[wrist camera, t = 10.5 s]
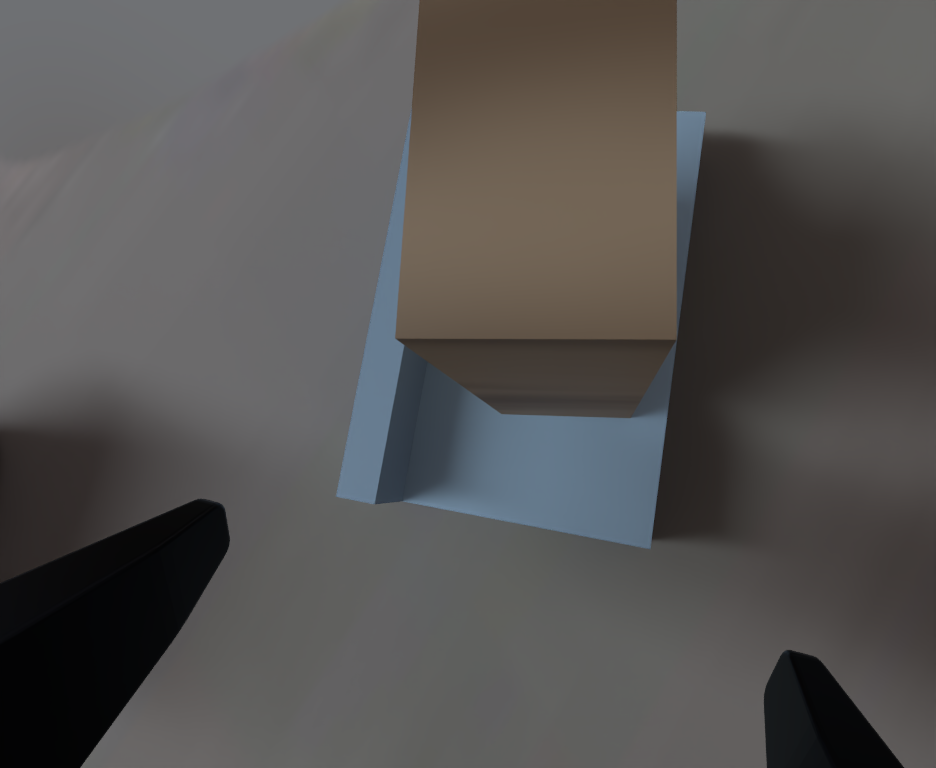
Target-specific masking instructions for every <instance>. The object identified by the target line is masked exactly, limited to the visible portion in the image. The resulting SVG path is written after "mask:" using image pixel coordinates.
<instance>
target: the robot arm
mask: <svg viewBox="0 0 936 768" xmlns="http://www.w3.org/2000/svg"><path fill="white" fill-rule="evenodd" d="M229 542H230V536H229V530H228V524H227V518H226V512H225V508H224V507H223V505H222V504H220V503H218V502H214V501H210V500H206V499H197V500H194V501H192V502H189V503H187V504H185V505H182V506H180V507H178V508H175V509H173V510H171V511H168V512H166V513H164V514H161V515H159V516H157V517H154V518H152V519H150V520H147V521H145V522H143V523H140V524H138V525H136V526H133V527H131V528H128V529H126V530H124V531H121V532H119V533H117V534H114V535H112V536H110V537H107V538H105V539H103V540H100V541H98V542H96V543H93V544H91V545H89V546H86V547H84V548H82V549H79V550H77V551H75V552H72V553H70V554H68V555H65V556H63V557H61V558H58V559H56V560H54V561H51V562H49V563H47V564H44V565H42V566H39V567H37V568H35V569H32V570H30V571H28V572H25V573H23V574H21V575H18V576H16V577H14V578H11V579H9V580H7V581H4V582H2V583H0V768H80V767H81V766H82V765H83V763H84V762H85V760H86V759H87V758H88V756H89V755H90V754H91V752H92V751H93V749H94V748H95V747H96V745H97V744H98V743H99V741H100V740H101V739H102V737H103V736H104V734H105V733H106V732H107V730H108V729H109V728H110V726H111V725H112V723H113V722H114V721H115V719H116V718H117V717H118V715H119V714H120V713H121V711H122V710H123V708H124V707H125V706H126V704H127V703H128V702H129V700H130V699H131V697H132V696H133V695H134V693H135V692H136V691H137V689H138V688H139V687H140V685H141V684H142V682H143V681H144V680H145V678H146V677H147V676H148V674H149V673H150V671H151V670H152V669H153V667H154V666H155V665H156V663H157V662H158V661H159V659H160V658H161V656H162V655H163V654H164V652H165V651H166V650H167V648H168V647H169V645H170V644H171V643H172V641H173V640H174V638H175V637H176V635H177V634H178V633H179V631H180V630H181V628H182V626H183V625H184V623H185V622H186V620H187V619H188V617H189V615H190V613H191V612H192V610H193V608H194V607H195V605H196V603H197V602H198V600H199V598H200V597H201V595H202V593H203V592H204V590H205V588H206V587H207V585H208V583H209V581H210V580H211V578H212V576H213V575H214V573H215V571H216V570H217V568H218V566H219V565H220V563H221V561H222V560H223V558H224V556H225V554H226V552H227V550H228V547H229ZM764 715H765V737H766V758H767V768H904V767H903V766H902V764H901V763H900V762H899V760H898V759H897V758H896V757H895V755H894V754H893V753H892V751H891V750H890V749H889V748H888V746H887V745H886V744H885V742H884V741H883V740H882V739H881V737H880V736H879V735H878V733H877V732H876V731H875V730H874V728H873V727H872V726H871V725H870V723H869V722H868V721H867V719H866V718H865V717H864V716H863V714H862V713H861V712H860V710H859V709H858V708H857V707H856V705H855V704H854V703H853V701H852V700H851V699H850V698H849V696H848V695H847V694H846V692H845V691H844V690H843V689H842V687H841V686H840V685H839V683H838V682H837V681H836V680H835V678H834V677H833V676H832V675H831V673H830V672H829V671H828V669H827V668H826V667H825V666H824V664H823V663H822V662H821V661H820V660H819V659H818V658H816V657H814V656H811V655H808V654H804V653H800V652H796V651H792V650H786V651H784V652H783V653H782V655H781V656H780V658H779V660H778V662H777V664H776V666H775V668H774V670H773V672H772V674H771V676H770V678H769V680H768V683H767V685H766V688H765V693H764Z"/></svg>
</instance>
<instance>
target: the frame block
mask: <svg viewBox="0 0 936 768" xmlns="http://www.w3.org/2000/svg"><path fill="white" fill-rule="evenodd" d="M395 339H396V340H398V341H399V342H401V343H402V344H403V345H405V346H406V347H408V348H409V349H410V350H412V351H413V352H415V353H416V354H418V355H419V356H420V357H422V358H423V359H425V360H426V361H427V362H429V363H430V364H432V365H433V366H434V367H436V368H437V369H439V370H440V371H441V372H443V373H444V374H446V375H447V376H448V377H450V378H451V379H453V380H454V381H456V382H457V383H458V384H460V385H461V386H463V387H464V388H465V389H467V390H468V391H470V392H471V393H472V394H474V395H475V396H477V397H478V398H479V399H481V400H482V401H484V402H485V403H486V404H488V405H489V406H491V407H492V408H493V409H495V410H496V411H498V412H499V413H501V414H509V415H541V416H573V417H606V418H631V416H632V415H633V413H634V411H635V410H636V408H637V406H638V405H639V403H640V401H641V399H642V398H643V396H644V394H645V393H646V391H647V389H648V388H649V386H650V384H651V382H652V381H653V379H654V377H655V376H656V374H657V372H658V371H659V369H660V367H661V365H662V364H663V362H664V360H665V359H666V357H667V355H668V354H669V352H670V350H671V348H672V347H673V345H674V343H675V342H676V340H677V0H420V3H419V17H418V31H417V45H416V58H415V72H414V86H413V99H412V113H411V127H410V141H409V154H408V168H407V182H406V195H405V209H404V223H403V236H402V250H401V264H400V278H399V291H398V305H397V319H396V332H395Z"/></svg>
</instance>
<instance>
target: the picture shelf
mask: <svg viewBox="0 0 936 768" xmlns="http://www.w3.org/2000/svg"><path fill="white" fill-rule="evenodd" d="M411 113H412V109H411ZM705 116H706V112H685V111H677V336H678V328H679V320H680V313H681V305H682V297H683V289H684V281H685V273H686V266H687V258H688V250H689V242H690V234H691V226H692V218H693V211H694V203H695V195H696V187H697V179H698V171H699V164H700V156H701V148H702V140H703V132H704V124H705ZM410 127H411V114H410V120H409V125H408V130H407V135H406V140H405V145H404V150H403V156H402V161H401V166H400V171H399V176H398V181H397V186H396V191H395V197H394V202H393V207H392V212H391V217H390V222H389V227H388V233H387V238H386V243H385V248H384V253H383V258H382V263H381V269H380V274H379V279H378V284H377V289H376V294H375V299H374V305H373V310H372V315H371V320H370V325H369V330H368V335H367V340H366V346H365V351H364V356H363V361H362V366H361V371H360V376H359V382H358V387H357V392H356V397H355V402H354V407H353V412H352V418H351V423H350V428H349V433H348V438H347V443H346V448H345V453H344V459H343V464H342V469H341V474H340V479H339V484H338V489H337V495H336V497H341V498H346V499H351V500H356V501H361V502H366V503H371V504H381V503H390V502H399V501H404V502H409V503H414V504H420V505H425V506H430V507H435V508H440V509H445V510H451V511H456V512H461V513H466V514H471V515H476V516H482V517H487V518H492V519H497V520H502V521H507V522H513V523H518V524H523V525H528V526H533V527H539V528H544V529H549V530H554V531H559V532H564V533H570V534H575V535H580V536H585V537H590V538H595V539H601V540H606V541H611V542H616V543H621V544H626V545H632V546H637V547H642V548H647V549H650V548H651V540H652V532H653V524H654V517H655V509H656V501H657V493H658V485H659V477H660V469H661V462H662V454H663V446H664V438H665V430H666V422H667V415H668V407H669V399H670V391H671V383H672V375H673V367H674V360H675V352H676V344H677V340H676V342H675V343H674V345H673V347H672V348H671V350H670V352H669V354H668V355H667V357H666V359H665V360H664V362H663V364H662V365H661V367H660V369H659V371H658V372H657V374H656V376H655V377H654V379H653V381H652V382H651V384H650V386H649V388H648V389H647V391H646V393H645V394H644V396H643V398H642V399H641V401H640V403H639V405H638V406H637V408H636V410H635V411H634V413H633V415H632V416H631V418H606V417H573V416H541V415H509V414H501V413H499V412H498V411H496V410H495V409H493V408H492V407H491V406H489V405H488V404H486V403H485V402H484V401H482V400H481V399H479V398H478V397H477V396H475V395H474V394H472V393H471V392H470V391H468V390H467V389H465V388H464V387H463V386H461V385H460V384H458V383H457V382H456V381H454V380H453V379H451V378H450V377H448V376H447V375H446V374H444V373H443V372H441V371H440V370H439V369H437V368H436V367H434V366H433V365H432V364H430V363H429V362H427V361H426V360H425V359H423V358H422V357H420V356H419V355H418V354H416V353H415V352H413V351H412V350H410V349H409V348H408V347H406V346H405V345H403V344H402V343H401V342H399V341H398V340H396V339H395V332H396V319H397V305H398V291H399V278H400V264H401V250H402V236H403V223H404V209H405V195H406V182H407V168H408V154H409V141H410Z"/></svg>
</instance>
